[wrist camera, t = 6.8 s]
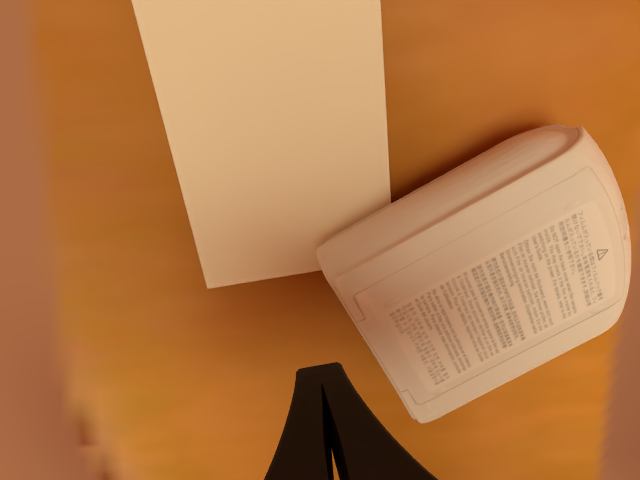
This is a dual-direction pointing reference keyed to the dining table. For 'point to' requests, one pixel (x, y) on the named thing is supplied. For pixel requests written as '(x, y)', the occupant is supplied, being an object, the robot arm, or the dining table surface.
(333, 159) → the mat
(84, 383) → the dining table surface
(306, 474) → the robot arm
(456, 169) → the photo printer
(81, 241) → the dining table surface
